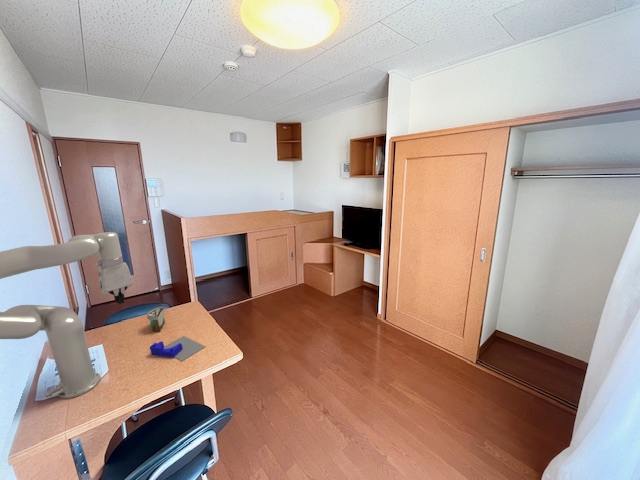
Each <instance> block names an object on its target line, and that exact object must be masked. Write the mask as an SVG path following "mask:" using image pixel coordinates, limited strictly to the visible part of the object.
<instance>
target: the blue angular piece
mask: <svg viewBox="0 0 640 480" xmlns="http://www.w3.org/2000/svg"><path fill="white" fill-rule="evenodd" d="M164 346H165V344H164V341H159V342H154V343H153V344H152V345H150V346H149V351H150V354H151V356H155V357H165V358H175V356H176V355H177V354H178V353H179V352H180V351H181V350H182V349H183V347H182V344H181V343H179V344H177V345H176V346H174V347H172V348H168V349H164Z"/></svg>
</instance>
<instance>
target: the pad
mask: <svg viewBox="0 0 640 480" xmlns="http://www.w3.org/2000/svg"><path fill="white" fill-rule="evenodd" d="M179 343H181V344H182V347H183V349H182V350H181V351H180V352H179V353H178V354H177V355H176V356H175V357H174V358H175V359H177V360H178V361H180V362H185V360H187V359H188V358H190V357H191V356H193V355H195V354H197V353H198V352H200V351H201V350H203V349H205V348H206V346H205V345H203V344H201V343H199V342H197V341H195V340H193V339H192V338H189V337H188V336H185V335H182V336H181V337H179V338H177V339H176V340H173V341H172V342H169V343H168V344H166V345H164V349H168V348H172V347H174V346H176V345H177V344H179Z"/></svg>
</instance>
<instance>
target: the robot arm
mask: <svg viewBox="0 0 640 480" xmlns="http://www.w3.org/2000/svg"><path fill="white" fill-rule="evenodd" d="M119 239H120V238H119V235H118V233H116V232H114V231H108V232H107V231H106V232H104V231H103V232H100V233H96V234H94V233H93V234H77V235H73V236H72V237H71V238H69V239H68V240H67V242H62V243H57V244H51V245H50V244H49V245H26V246H24V245H23V246H20V247H19V246H18V247H15V248H12V249H7V250H2V251H1V250H0V280H1V279H5V278H8V277H13V276H17V275H20V274H23V273H28V272H32V271H36V270H43V269H48V268H54V267H57V266H63V265H67V264H72V263H76V262H79V261H82V260H86V259H89V258H92V257H93V256H95V255H97V256H98V257H97V258H98V261H97V262H95V266H96V267H98V266H99V267H98V281H99V287H100V290H101V294H102V295H110V294H111V295H113V298H114V301H115V303H117V304H118V305H121V304H124V303H125V300H126V299H125V292H126V290H127V289H129V288H131V287H132V286H133V278H132V275H131V271H130V268H129V266H128V264H127V262H124V259H123V253H122V249H121V244H120V240H119ZM39 331H40V332H41V331H45V334H46V337H47V340H48V343H49V346H50V350H51V351H50V352H51V354H52V357H53V360H54V364H55V366H56V370H57V374H58V376H59V381H58V384H57V385H56V386H55V387H53V388H52V389H50V390H47V391H45V392H44V396H45V398H49V397H52V398H54V397H56V396H58V397H59V398H60V399H65V400H66V399H73V398H76V397H79V396H81V395H83V394H86V393H88V392H90V391H91V390H92V389H94V388H95V387H96V386H97V385H98V384H99V383H100V381H101V378H102V377H101V374H100V373H99V372H95V369H94V365H93V363H92V358H91V355H90V351H89V347H88V344H87V340H86V336H85V334H86V333H85V329H84V324H83V322H82V320H81V318H80V316H78V314H77V313H76V312H75V311H74V310H73V309H71V308H70V307H66V306H60V305H59V306H56V305H42V304H41V305H40V304H39V305H38V304H20V305H15V306H13V307H10V308H9V309H7V310H5V311H0V340H23V339H28V338H30V337H34V335H36V334H38V333H39Z"/></svg>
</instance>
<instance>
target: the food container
mask: <svg viewBox="0 0 640 480" xmlns="http://www.w3.org/2000/svg"><path fill="white" fill-rule="evenodd" d="M164 310H165V309H164V306H159V307H155V308H153V309H152V310H149V312H148V314H147V319H148V320H149V322H150V323H149V324H150V327H151V329H152V332H154V333H161V332H162V330H163V328H164V327H165V324H166V320H165V313H164Z"/></svg>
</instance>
